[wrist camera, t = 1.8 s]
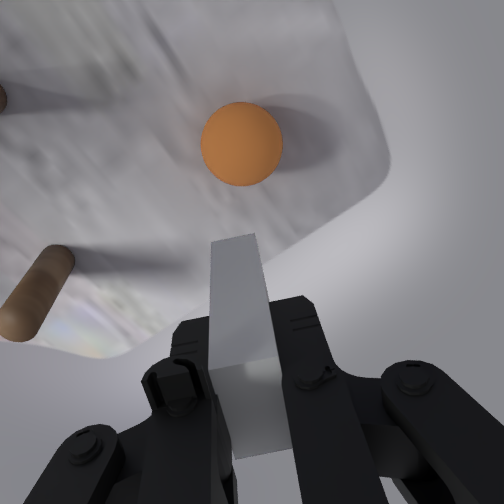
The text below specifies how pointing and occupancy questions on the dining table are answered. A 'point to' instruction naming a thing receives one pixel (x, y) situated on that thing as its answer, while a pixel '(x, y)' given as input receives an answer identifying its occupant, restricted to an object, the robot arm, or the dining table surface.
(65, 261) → the post
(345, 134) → the dining table surface
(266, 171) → the ball
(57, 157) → the dining table surface
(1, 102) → the post
